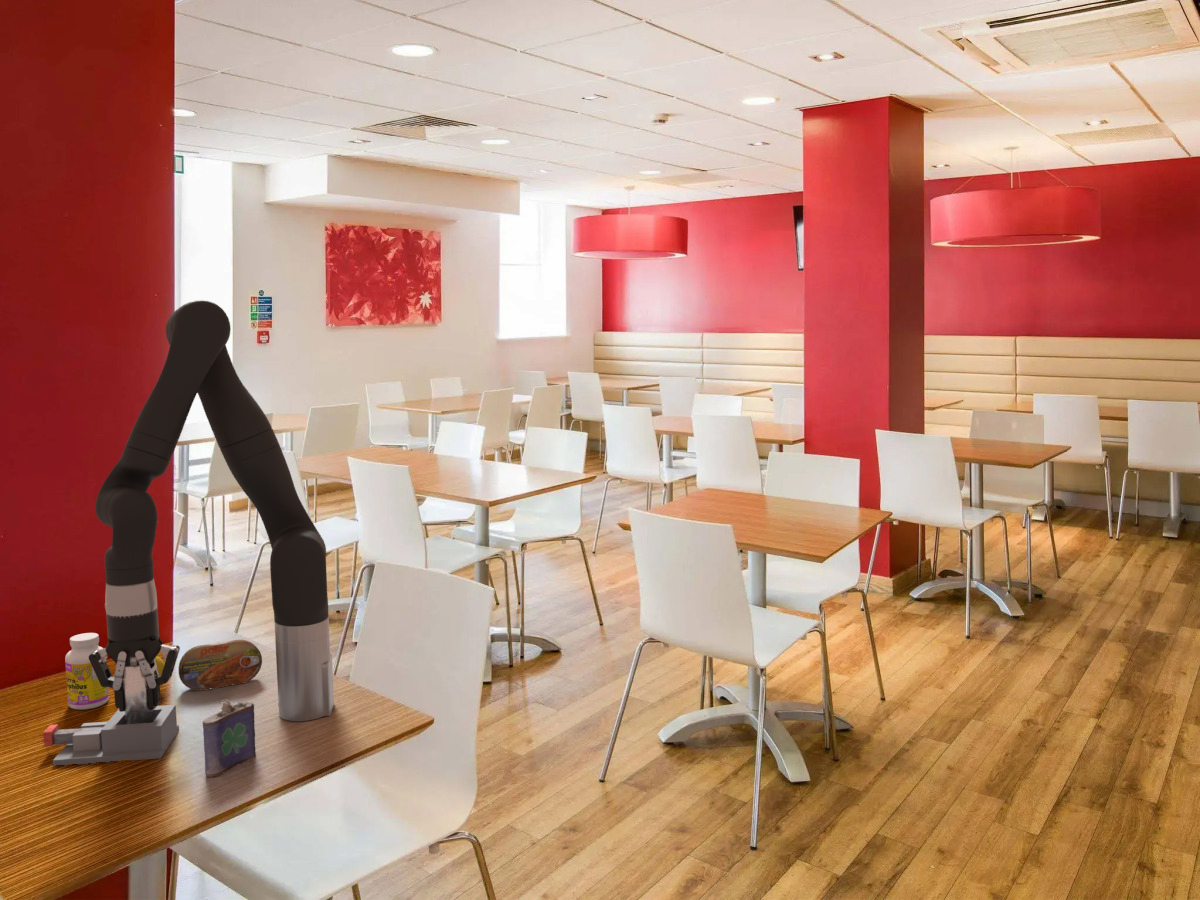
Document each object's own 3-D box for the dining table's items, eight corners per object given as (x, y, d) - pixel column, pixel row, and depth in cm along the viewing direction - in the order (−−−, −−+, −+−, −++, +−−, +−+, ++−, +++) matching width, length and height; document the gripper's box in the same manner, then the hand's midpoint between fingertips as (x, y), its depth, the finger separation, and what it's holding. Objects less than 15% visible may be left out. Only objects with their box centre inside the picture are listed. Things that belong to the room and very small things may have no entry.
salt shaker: (155, 716, 161) (151, 649, 160) (148, 725, 157) (144, 657, 156) (130, 717, 161) (125, 651, 159) (122, 727, 157) (118, 659, 155)
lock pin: (111, 735, 160) (110, 720, 160) (105, 742, 157) (104, 728, 157) (51, 739, 158) (50, 724, 158) (44, 747, 155) (43, 732, 155)
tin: (180, 694, 182) (177, 651, 181) (178, 688, 185) (176, 646, 184) (263, 680, 189) (261, 639, 188) (261, 675, 192) (259, 634, 191)
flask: (212, 779, 147) (208, 712, 146) (199, 775, 149) (195, 708, 148) (260, 756, 155) (256, 692, 154) (247, 752, 157) (244, 689, 156)
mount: (178, 730, 166) (177, 702, 165) (160, 758, 155) (159, 728, 154) (78, 737, 163) (76, 709, 162) (53, 766, 152) (51, 736, 152)
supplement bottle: (60, 707, 176) (54, 639, 174) (91, 695, 182) (86, 629, 180) (86, 713, 173) (81, 644, 172) (117, 700, 179) (112, 633, 178)
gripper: (184, 599, 161) (189, 697, 164) (93, 603, 159) (100, 703, 161) (171, 612, 154) (177, 715, 156) (76, 616, 152) (83, 720, 154)
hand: (138, 708), depth 159 cm, fingers closed on salt shaker, 4 cm apart
